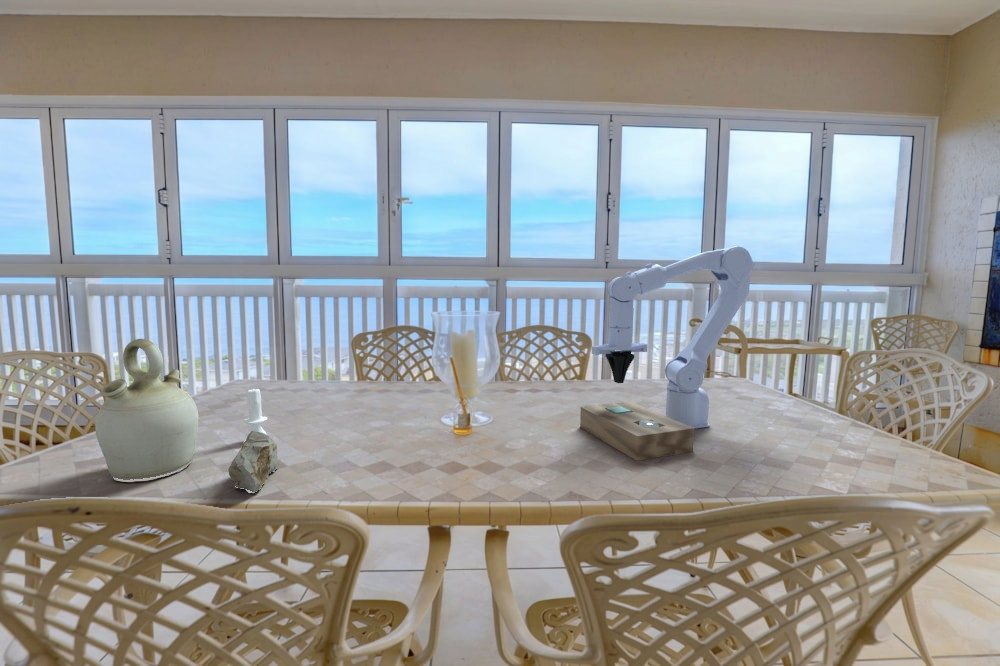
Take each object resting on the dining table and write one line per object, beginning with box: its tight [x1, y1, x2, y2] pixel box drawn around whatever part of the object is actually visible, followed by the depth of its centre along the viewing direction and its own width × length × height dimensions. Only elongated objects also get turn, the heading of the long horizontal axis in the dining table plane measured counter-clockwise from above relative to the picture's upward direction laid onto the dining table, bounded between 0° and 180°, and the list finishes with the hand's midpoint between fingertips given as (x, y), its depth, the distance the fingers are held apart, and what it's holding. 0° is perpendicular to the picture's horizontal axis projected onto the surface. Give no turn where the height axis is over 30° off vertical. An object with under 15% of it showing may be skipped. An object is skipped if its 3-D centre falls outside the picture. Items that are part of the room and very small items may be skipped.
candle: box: [243, 388, 268, 440], centre depth 103 cm, size 5×5×12 cm
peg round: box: [639, 420, 659, 429], centre depth 99 cm, size 4×4×5 cm
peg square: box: [607, 406, 631, 414], centre depth 109 cm, size 4×4×5 cm
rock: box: [228, 431, 279, 492], centre depth 82 cm, size 12×7×10 cm, turn 7°
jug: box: [94, 338, 200, 480], centre depth 87 cm, size 15×16×25 cm
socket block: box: [579, 401, 695, 462], centre depth 104 cm, size 14×22×5 cm, turn 20°
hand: (618, 382), depth 114 cm, fingers closed
